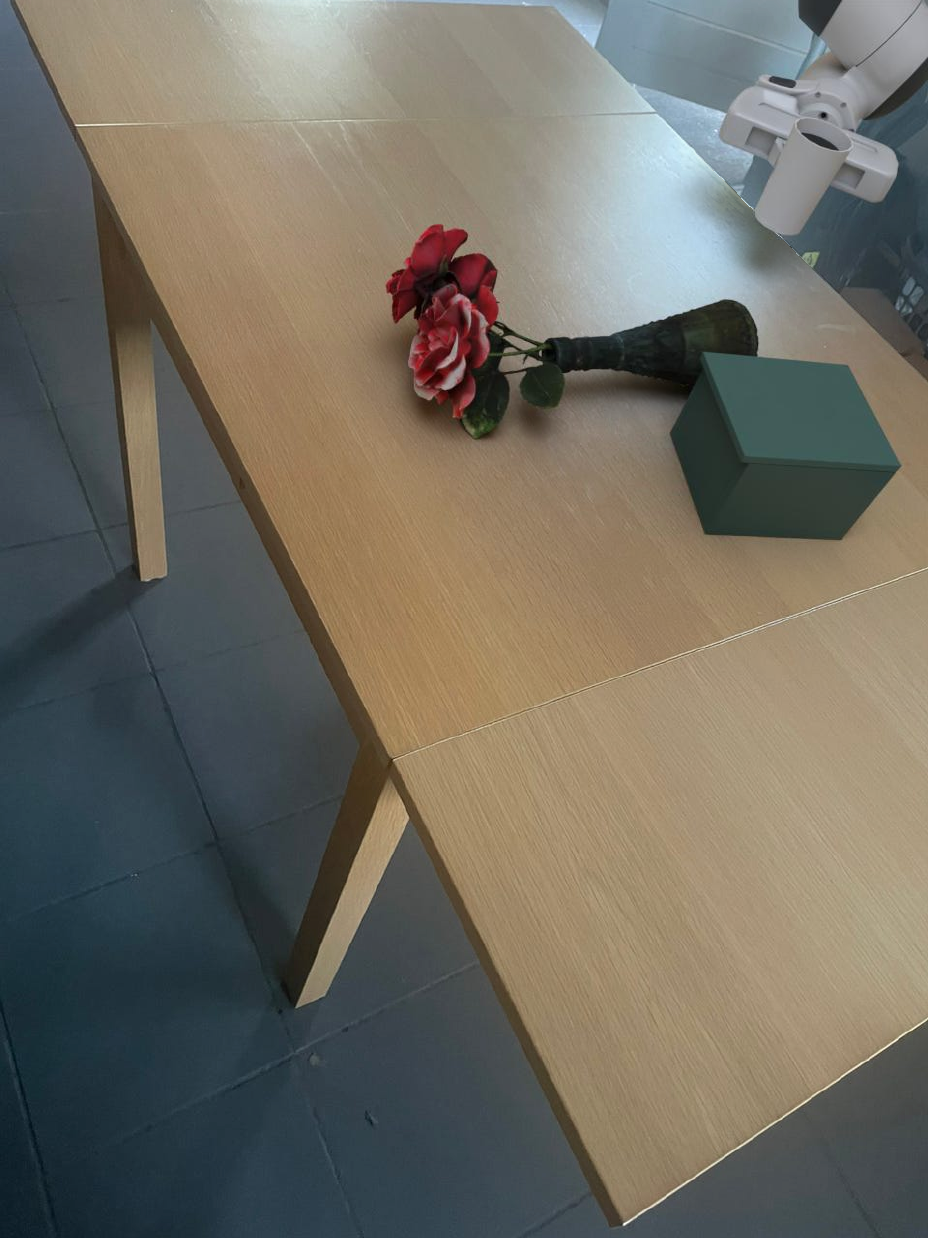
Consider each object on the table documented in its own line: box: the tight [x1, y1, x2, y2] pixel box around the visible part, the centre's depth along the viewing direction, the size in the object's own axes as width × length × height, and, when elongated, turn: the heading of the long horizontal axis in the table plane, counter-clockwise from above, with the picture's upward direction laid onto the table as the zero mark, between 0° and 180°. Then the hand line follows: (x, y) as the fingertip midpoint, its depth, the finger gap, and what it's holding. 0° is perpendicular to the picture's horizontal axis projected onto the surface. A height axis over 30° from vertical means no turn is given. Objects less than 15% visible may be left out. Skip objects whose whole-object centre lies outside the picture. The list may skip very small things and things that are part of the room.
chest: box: [669, 368, 897, 541], centre depth 84 cm, size 14×13×9 cm
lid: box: [700, 352, 902, 473], centre depth 80 cm, size 15×13×1 cm
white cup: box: [754, 117, 853, 237], centre depth 101 cm, size 7×7×10 cm
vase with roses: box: [385, 223, 760, 439], centre depth 87 cm, size 16×18×35 cm
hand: (797, 175), depth 100 cm, fingers closed on white cup, 2 cm apart
